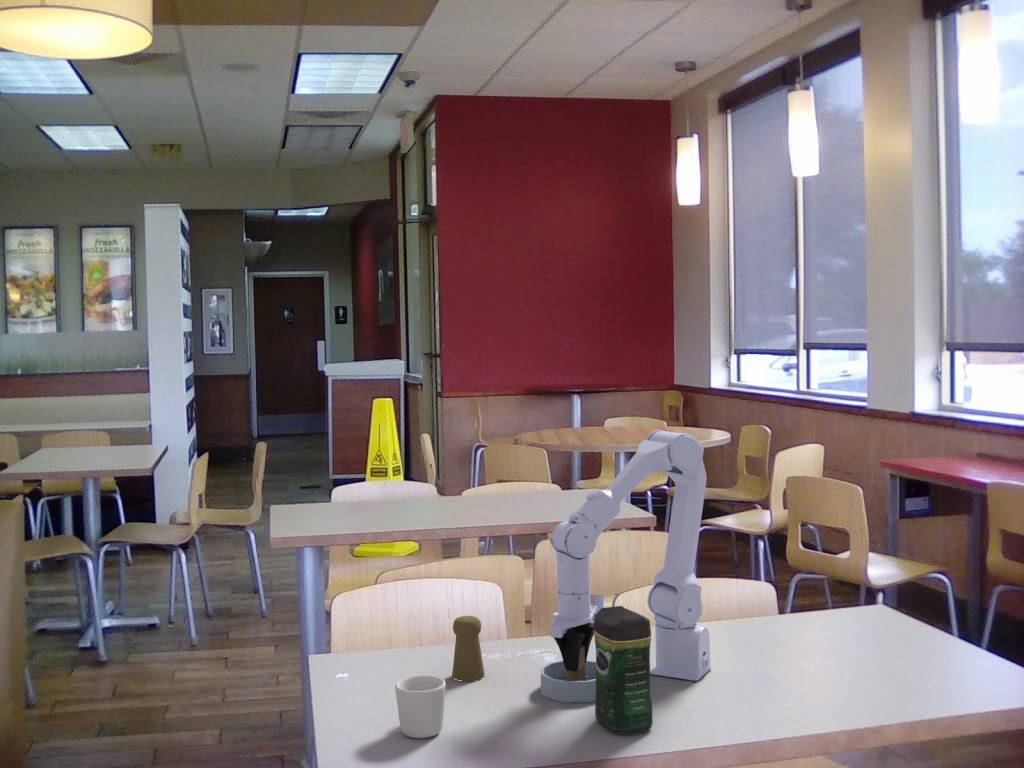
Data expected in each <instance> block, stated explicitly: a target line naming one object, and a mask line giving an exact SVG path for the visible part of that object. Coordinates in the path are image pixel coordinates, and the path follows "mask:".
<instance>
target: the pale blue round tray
mask: <svg viewBox="0 0 1024 768" xmlns="http://www.w3.org/2000/svg"><path fill="white" fill-rule="evenodd" d="M539 671H540V693H541V695H542V696H544V697H546V698H547V697H548V698H547V699H549V698H550V699H549V700H551V699H553V700H552V701H556V700H557V701H556V702H562V701H563V703H567V702H568V704H569V703H570V702H578V703H591V702H595V698H596V660H590V659H589V660H588V659H587V660H586V664H585V681H566V669H565V666H564V662H563V659H561V660H557V661H552V662H548V663H547V664H545V665H544V666H542V667H540V669H539ZM570 704H571V703H570Z"/></svg>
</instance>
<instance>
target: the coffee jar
mask: <svg viewBox="0 0 1024 768" xmlns="http://www.w3.org/2000/svg"><path fill="white" fill-rule="evenodd" d="M593 619H594V620H593V623H594V635H593V637H594V643H595V661H596V698H595V701H594V702H595V703H594V704H595V705H594V706H595V707H594V708H595V711H594V712H595V713H594V715H595V716H594V717H595V719H596V721H597V722H598V723H599V724H600V725H601V726H602V727H603V728H605V729H606V730H607V731H609V732H612V733H614V734H629V735H638V734H641V733H643V732H644V731H647V730H649V729H651V728H652V727H653V723H654V722H653V700H652V698H653V697H652V685H651V674H650V669H651V657H650V656H651V655H650V654H651V653H650V652H651V642H652V630H651V629H652V628H651V621H650V619H649V618H647V617H645V616H644V615H641V614H640V613H637V612H636V611H633V610H631V609H629V608H625V606H623V605H619V606H618V605H617V606H616V605H615V606H608V607H602V608H600V609H599V610H597V613H596V615H595V618H593Z"/></svg>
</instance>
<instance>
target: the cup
mask: <svg viewBox="0 0 1024 768" xmlns="http://www.w3.org/2000/svg"><path fill="white" fill-rule="evenodd" d="M394 687H395V688H394V689H395V695H396V696H395V697H396V705H397V710H398V719H399V726H400V729H401V732H402V733H403V734H404V735H405V736H407V737H410V738H413V739H426V738H431V737H434V736H436V735H437V734H439V733H440V732H441V730H442V728H443V724H444V714H445V703H446V702H445V701H446V687H447V683H446V681H445V679H443V678H441V677H439V676H435V675H429V674H428V675H426V674H425V675H412V676H408V677H405V678H402V679H400V680H398V681H397V682H396V683H395V686H394Z"/></svg>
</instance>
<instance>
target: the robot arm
mask: <svg viewBox="0 0 1024 768" xmlns="http://www.w3.org/2000/svg"><path fill="white" fill-rule="evenodd" d="M704 452H705V447H704V446H703V445H702V444H701V443H700V442H699V440H698V439H697V438H696V437H695V436H694V435H692V434H691V433H679V432H672V431H666V430H662V429H655V430H653V431H652V432H650V433H649V434H648V435H647V437H646V438H645V439H644V440H642V441H641V442H640V443H639V444H638V448H637V450H636V452H635V453H634V455H633V456H632V457H631V458H630V460H629V461H628V462H626V464H625V466H624V467H623V468H622V470H621V471H620V472H619V473H618V474H617V475H616V477H615V478H614V479H613V480H612V481H611V483H610V484H609V485H608V486H607V488H605V489H597V490H595V491H594V492H592V491H590V492H589V493H588V494H587V495H586V500H585V502H584V503H583V504H582V505H580V507H578V509H577V510H576V511H575V512H572V513H570V515H569V516H568V518H569V519H568V520H564V521H561V522H559V523H558V524H557V525H556V526H555V528H554V529H553V532H552V535H551V536H550V537H549V541H550V542H549V543H550V545H551V547H552V548H553V550H554V551H555V554H556V579H557V580H556V581H557V582H556V585H557V586H556V587H557V611H556V612H554V613H552V617H551V618H552V619H554V622H553V623H552V624H551V625H549V627H550V628H549V630H550V631H549V633H550V634H549V635H550V637H551V638H554V642H556V644H557V647H558V648H559V651H560V655H561V658H562V660H563V662H564V666H565V669H566V670H569V671H577V670H578V666H579V657H580V649H581V645H583V646H585V664H586V660H588V655H589V651H590V646H591V643H592V639H593V637H594V622H592V621H593V619H595V615H596V613H597V612H598V606H596V605H592V604H591V570H590V569H591V566H590V565H591V563H590V561H591V560H590V554H592V553H593V552H594V551H595V549H596V546H597V541H598V538H599V536H600V534H601V533H603V532H604V530H605V529H606V528H607V527H608V526H609V525H610V524H611V523H612V522H613V521H614V520H615V519H616V517H617V516H618V515H619V514H620V513H621V503H622V502H623V500H625V498H627V497H628V496H629V495H630V494H631V493H632V492H633V491H634V490H635V489H636V488H637V487H638V486H639V485H640V484H641V483H642V482H643V481H644V480H645V479H647V477H649V476H650V475H651V474H654V473H661V472H665V473H666V474H667V475H668V477H670V479H671V480H672V481H673V482H674V485H675V486H674V492H673V500H672V507H671V511H670V512H671V513H670V520H669V521H670V522H669V529H668V533H667V534H668V535H667V540H666V541H667V542H666V548H665V549H666V550H665V555H664V556H665V557H664V563H663V567H662V569H660V571H658V573H657V574H656V575H655V576H654V581H653V585H652V587H651V588H650V590H649V591H648V595H647V602H646V603H647V607H648V608H649V610H650V612H651V613H652V614H653V620H654V623H655V625H654V626H655V628H654V629H655V665H654V666H652V667H650V675H654V676H662V677H668V678H674V679H680V680H681V679H682V680H688V681H695V682H697V681H699V680H700V679H701V678H702V677H704V675H706V674H707V673H708V672H709V671H710V670H712V666H711V658H710V657H711V656H710V655H711V652H710V650H711V648H710V644H711V643H710V633H709V629H708V628H707V627H706V626H701V625H699V624H697V623H698V622H699V620H700V619H701V618H702V616H703V611H704V607H703V606H704V605H703V601H702V600H703V599H702V596H701V594H702V593H701V592H702V586H701V584H700V582H699V581H698V578H697V576H696V575H695V566H696V559H697V553H698V546H699V545H698V544H699V537H700V531H701V522H702V515H703V509H704V508H703V507H704V501H705V494H706V487H707V481H708V480H707V471H706V468H705V463H704V458H703V457H704Z"/></svg>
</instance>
